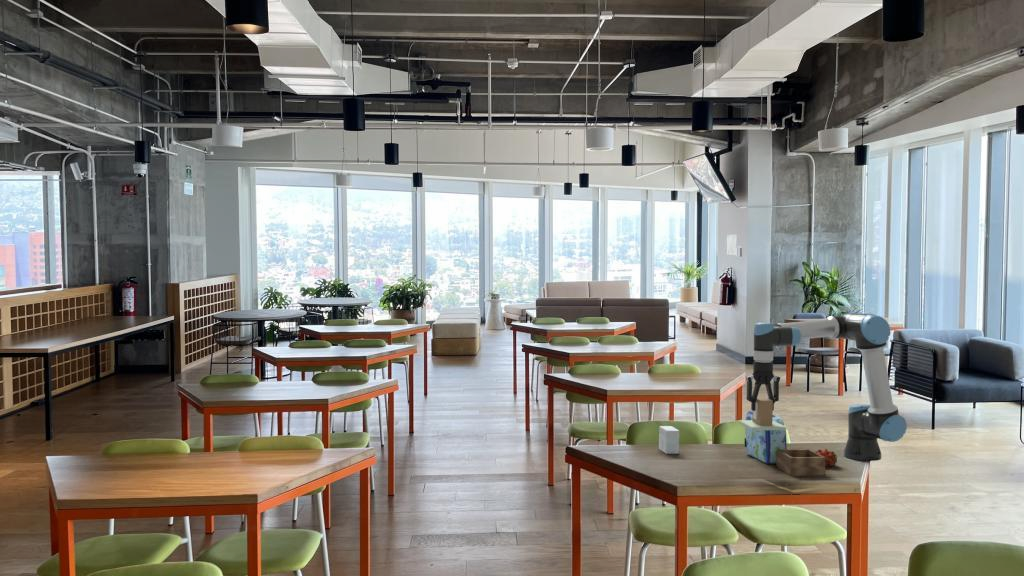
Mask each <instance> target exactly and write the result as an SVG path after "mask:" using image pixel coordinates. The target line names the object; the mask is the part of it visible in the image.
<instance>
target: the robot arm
mask: <svg viewBox="0 0 1024 576" xmlns="http://www.w3.org/2000/svg"><path fill="white" fill-rule="evenodd" d="M890 336H891V326H890V324H889V322H888V321H887V320H886V318H884V317H882V316H881V315H876V314H872V313H871V314H867V313H856V312H853V313H851V312H850V313H845V314H838V315H832V316H831V315H830V316H828V317H826V318H824V319H816V320H805V321H803V320H802V321H795V322H794V321H793V322H783V323H774V322H773V323H772V322H756V323H755V324H754V328H753V360H754V361H753V362H752V365H753V366H752V367H753V370H752V371H753V372H752V375H748V376H747V375H746V376H745V380H746V400H747V402H750V403H751V404H750V405H751V406H750V409H751V411H753V418H754V419H758V403H756V400H757V397H759V392H760V388H761V386H762V385H764V386H765V389H766V393H767V397H768V399H770V400H772V401H773V411H774V410H775V403H776V402H779V401H780V380H781V377H780V376H778V375H775V374H774V362H773V361H774V347H788V346H789V347H793V346H798V345H799V344H800V343H801V341H802V340H809V339H817V338H818V339H819V338H830V339H842V340H844V339H845V340H848V341H849V340H850V341H855V345H856V347H855V348H856V349H857V350H858V351H860V353H861V357H862V358H861V359H862V364H863V369H864V374H865V381H866V386H867V392H868V397H869V404H852V405H850V406H849V408H848V413H847V414H848V415H847V416H848V425H847V427H848V436H847V437H848V438H847V440H846V443H845V446H844V449H843V456H844V457H845V458H847V459H851V460H857V461H863V460H867V461H868V460H869V461H868V462H875V461H880V460H882V451H881V448H880V445H879V443H878V439H879V440H882V441H884V442H891V443H894V442H895V443H896V442H897V441H899V440H901V439H903V437H904V435H905V434H906V432H907V426H908V424H907V421H906V419H905V417H903V416H902V415H900V414H899V413H900V412H899V409H898V406H897V405H896V404H894V402H893V397H892V396H893V395H892V391H891V386H890V381H889V380H890V378H889V374H888V373H889V372H888V368H887V363H886V357H885V351H884V349H885V348H886V347H887V341H888V340H889V338H890ZM753 380H754V381H755V382H754V389H753ZM772 380H773V390H772V383H771V381H772ZM867 461H866V462H867Z"/></svg>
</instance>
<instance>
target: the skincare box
mask: <svg viewBox="0 0 1024 576" xmlns="http://www.w3.org/2000/svg"><path fill="white" fill-rule="evenodd" d="M658 428H659V429H658V430H659V431H658V434H659V436H658V449H659V450H660V451H661V452H663V453H664V454H667V455H668V454H671V455H672V454H673V455H674V454H680V430H679V429H677V428H676V427H674V426H673V425H672V426H671V425H660V426H659V427H658Z"/></svg>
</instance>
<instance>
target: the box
mask: <svg viewBox="0 0 1024 576" xmlns="http://www.w3.org/2000/svg"><path fill="white" fill-rule="evenodd" d="M816 452H817V451H814V450H812V449H810V448H805V449H804V448H801V449H800V448H799V449H798V448H797V449H793V448H792V449H784V450H777V458H776V464H775V465H776V466H775V467H776V468H778V469H779V470H781V471H783V472H784V473H786V474H788V475H789V476H791V477H795V476H797V477H798V476H800V477H801V476H826V468H825V457H823V456H822V455H820V454H818V453H816Z"/></svg>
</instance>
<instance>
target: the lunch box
mask: <svg viewBox="0 0 1024 576" xmlns="http://www.w3.org/2000/svg"><path fill="white" fill-rule="evenodd" d="M746 412H747V413H746V416H745V417H746V418H745V419H744V420H753V411H752V410H751V411H746ZM772 420H773V421H775V422H777V423H779V424H781V425H783V426H785V427H786V425H785V422H784V419H782V417H780V416H778V415H776V414H775V413H773V415H772ZM744 427H745V426H744ZM787 446H788V445H787V429H786V430H750V429H748V428H747V427H745V438H744V448H746V452H747V455H748V456H750V457H752V458H754V459H756V460H759V461H760V462H761V463H763V464H765V465H768V464H770V465H774V464H775V465H776V458H777V450H784V449H787Z"/></svg>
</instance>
